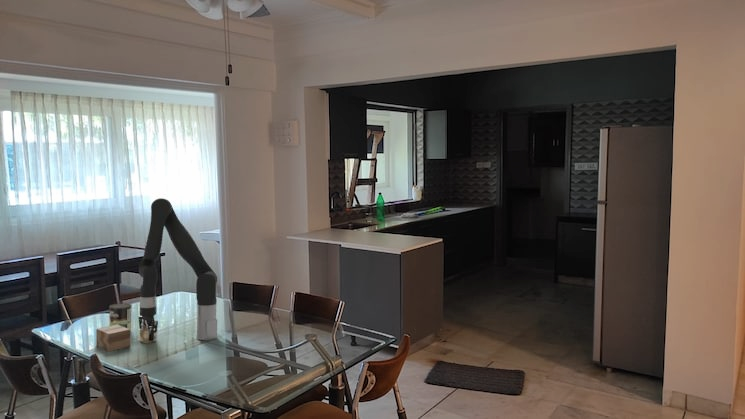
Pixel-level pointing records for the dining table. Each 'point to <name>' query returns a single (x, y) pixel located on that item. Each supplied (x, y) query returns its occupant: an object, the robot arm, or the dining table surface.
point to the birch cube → (146, 335)
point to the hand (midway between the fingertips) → (147, 339)
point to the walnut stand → (113, 337)
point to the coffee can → (120, 315)
